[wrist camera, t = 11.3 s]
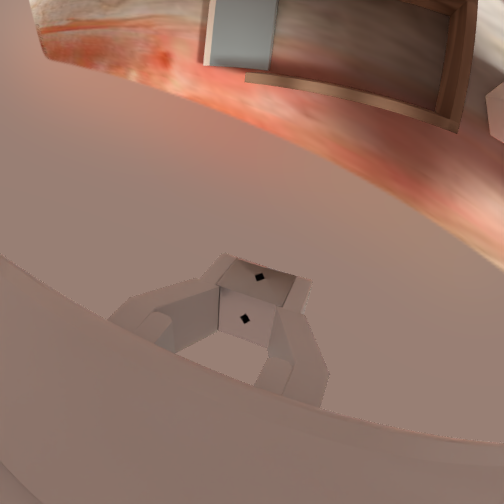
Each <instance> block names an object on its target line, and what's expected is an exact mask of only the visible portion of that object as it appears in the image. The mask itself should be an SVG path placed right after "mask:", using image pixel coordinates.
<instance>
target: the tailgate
mask: <svg viewBox="0 0 504 504" xmlns="http://www.w3.org/2000/svg"><path fill="white" fill-rule="evenodd" d="M277 8H278V0H210V4H209V12H208V21H207V31H206V41H205V51H204V63H203V65H205V66H225V67H238V68H250V69H259V70H269V71H270V65H271V57H272V49H273V40H274V32H275V24H276V16H277Z"/></svg>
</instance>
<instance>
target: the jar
mask: <svg viewBox="0 0 504 504" xmlns="http://www.w3.org/2000/svg"><path fill="white" fill-rule="evenodd" d="M485 99H486V106H487V113H488V122H489V131H490V135H491V136H492V137H494V138H496V139H497V140H499V141H500V142H502V143H503V144H504V82H503V83H501V84H500V85H499V86H497V87H496V88H495V89H493V90H492V91H491V92H489V93H488V94H487V95H486V96H485Z"/></svg>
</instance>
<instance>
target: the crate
mask: <svg viewBox="0 0 504 504" xmlns="http://www.w3.org/2000/svg"><path fill="white" fill-rule="evenodd" d="M399 1H403V2H406V3H410V4H414V5H417V6H420V7H424V8H427V9H430V10H433V11H436V12H439V13H442V14H444V15H447V16H450V19H449V28H448V37H447V45H446V52H445V59H444V65H443V71H442V77H441V83H440V88H439V93H438V98H437V103H436V108H435V112H434V111H431V110H428V109H425V108H422V107H419V106H416V105H413V104H410V103H407V102H404V101H400V100H397V99H394V98H390V97H387V96H383V95H380V94H376V93H372V92H368V91H364V90H360V89H356V88H352V87H347V86H343V85H338V84H333V83H329V82H323V81H318V80H313V79H307V78H301V77H295V76H288V75H282V74H274V73H253V72H246V75H245V82H248V83H256V84H264V85H271V86H278V87H285V88H291V89H297V90H303V91H308V92H313V93H318V94H323V95H328V96H333V97H338V98H342V99H346V100H351V101H355V102H359V103H363V104H367V105H370V106H374V107H378V108H381V109H385V110H389V111H392V112H395V113H399V114H402V115H405V116H408V117H411V118H415V119H418V120H421V121H424V122H426V123H429V124H432V125H435V126H438V127H441V128H443V129H446V130H449V131H451V132H454V133H456V134H457V133H458V129H459V125H460V121H461V117H462V112H463V108H464V103H465V98H466V93H467V88H468V82H469V77H470V71H471V64H472V58H473V50H474V42H475V33H476V22H477V9H478V0H399Z"/></svg>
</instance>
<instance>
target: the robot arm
mask: <svg viewBox="0 0 504 504" xmlns="http://www.w3.org/2000/svg"><path fill="white" fill-rule="evenodd" d="M312 283H313V280H311V279H307V278H304V277H300V276H295V275H291V274H288V273H284V272H281V271H278V270H275V269H271V268H268V267H266V266H263V265H260V264H257V263H254V262H251V261H248V260H245V259H242V258H238V257H236V256H233V255H229V254H227V253H223V254H221V255H220V256H219V257H218V258H217V259H216V260H215V262H214V263H213V264H212V265H211V266H210V267H209V269H208V270H207V271H206V272H205V273H204V274H203V275H202V276H201V278H200V279H197V278H193V279H189V280H187V281H183V282H180V283H176V284H173V285H170V286H166V287H163V288H160V289H157V290H153V291H150V292H146V293H143V294H140V295H136V296H133V297H130V298H129V299H128V300H127V301H126V302H125V303H124V304H123V305H121V306H120V307H119V308H118V310H116V311H115V312H114V314H112V315H111V316H110V317H109V318H108V319H104V318H103V317H101V316H99V315H97V314H96V313H94V312H92V311H90V310H88V309H87V308H85V307H83V306H81V305H80V304H78V303H76V302H75V301H73V300H71V299H69V298H68V297H66V296H64V295H63V294H61V293H60V292H58V291H56V290H55V289H53V288H51V287H50V286H48V285H47V284H45V283H44V282H42V281H40V280H39V279H37V278H36V277H34V276H33V275H31V274H30V273H28V272H27V271H25V270H24V269H22V268H21V267H19V266H18V265H16V264H15V263H13V262H12V261H11V260H9V259H8V258H6V257H5V256H3V255H2V254H1V253H0V504H504V443H496V442H485V441H476V440H468V439H460V438H453V437H446V436H440V435H434V434H428V433H422V432H417V431H412V430H406V429H402V428H397V427H392V426H387V425H383V424H379V423H375V422H370V421H366V420H362V419H358V418H354V417H350V416H347V415H343V414H340V413H336V412H332V411H329V410H325V409H322V408H320V406H321V403H322V399H323V396H324V392H325V389H326V386H327V382H328V378H329V375H330V373H329V371H328V368H327V366H326V363H325V361H324V359H323V356H322V354H321V351H320V349H319V347H318V344H317V342H316V339H315V337H314V335H313V332H312V330H311V328H310V325H309V323H308V321H307V318H306V316H305V315H304V311H305V308H306V305H307V301H308V298H309V294H310V291H311V287H312ZM217 330H218V331H221V332H224V333H227V334H230V335H233V336H236V337H239V338H242V339H245V340H247V341H249V342H252V343H254V344H257V345H260V346H262V347H265V348H267V351H268V356H269V358H268V359H267V360H266V362H265V364H264V366H263V369H262V370H261V372H260V374H259V376H258V379H257V380H256V383H255V384H254V386H253V385H250V384H247V383H245V382H242V381H239V380H236V379H234V378H232V377H229V376H227V375H224V374H222V373H219V372H217V371H214V370H212V369H209V368H207V367H205V366H202V365H200V364H198V363H195V362H193V361H191V360H188V359H186V358H184V357H181V356H179V355H177V354H176V353H177V352H179V351H181V350H183V349H185V348H187V347H189V346H191V345H193V344H194V343H196V342H198V341H200V340H202V339H204V338H206V337H208V336H210V335H212V334H214V333H215V332H217Z"/></svg>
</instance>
